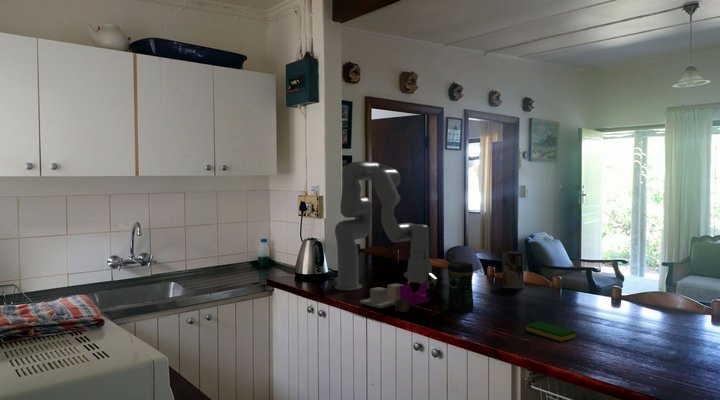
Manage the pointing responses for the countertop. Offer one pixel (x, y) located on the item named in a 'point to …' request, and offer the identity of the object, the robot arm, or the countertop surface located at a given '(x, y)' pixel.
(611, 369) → the countertop surface
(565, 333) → the dish sponge
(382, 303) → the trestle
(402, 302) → the cube
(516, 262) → the coffee box
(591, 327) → the countertop surface
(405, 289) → the toy block
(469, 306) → the coffee jar
